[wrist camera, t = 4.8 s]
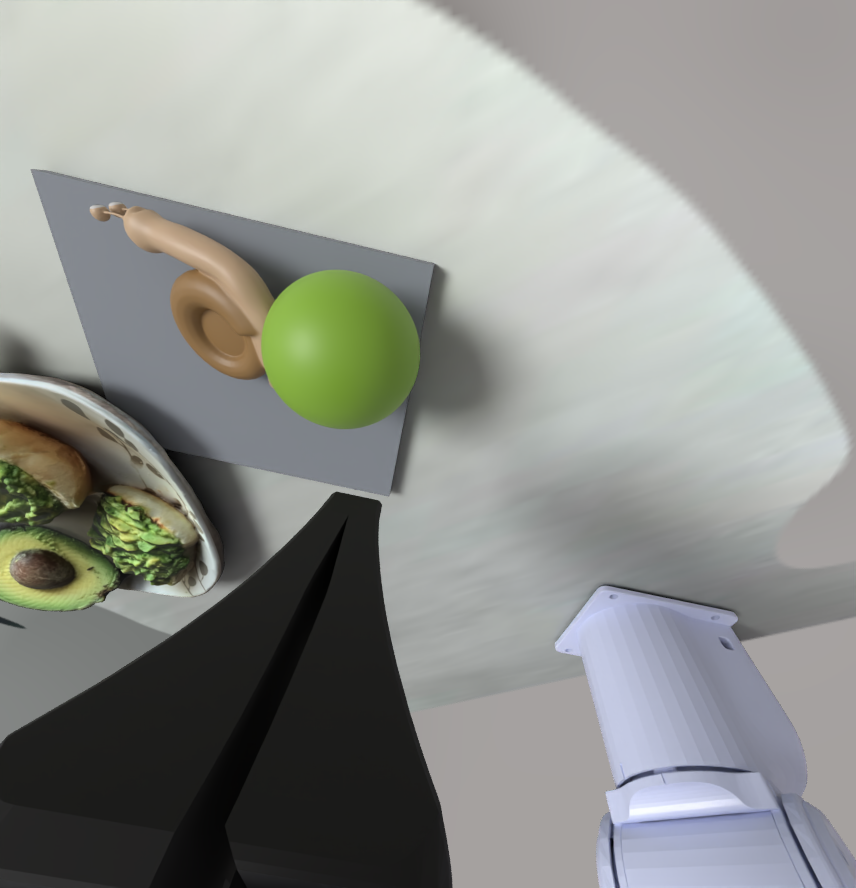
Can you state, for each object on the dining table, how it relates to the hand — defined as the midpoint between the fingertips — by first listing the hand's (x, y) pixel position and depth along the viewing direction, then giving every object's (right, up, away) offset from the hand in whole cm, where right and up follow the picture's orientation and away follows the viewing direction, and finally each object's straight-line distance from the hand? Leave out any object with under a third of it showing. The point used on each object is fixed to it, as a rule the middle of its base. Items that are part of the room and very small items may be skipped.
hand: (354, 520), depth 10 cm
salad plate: (-19, -1, +12) cm, 23 cm away
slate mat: (-6, +6, +7) cm, 11 cm away
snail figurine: (+2, +5, +1) cm, 6 cm away
